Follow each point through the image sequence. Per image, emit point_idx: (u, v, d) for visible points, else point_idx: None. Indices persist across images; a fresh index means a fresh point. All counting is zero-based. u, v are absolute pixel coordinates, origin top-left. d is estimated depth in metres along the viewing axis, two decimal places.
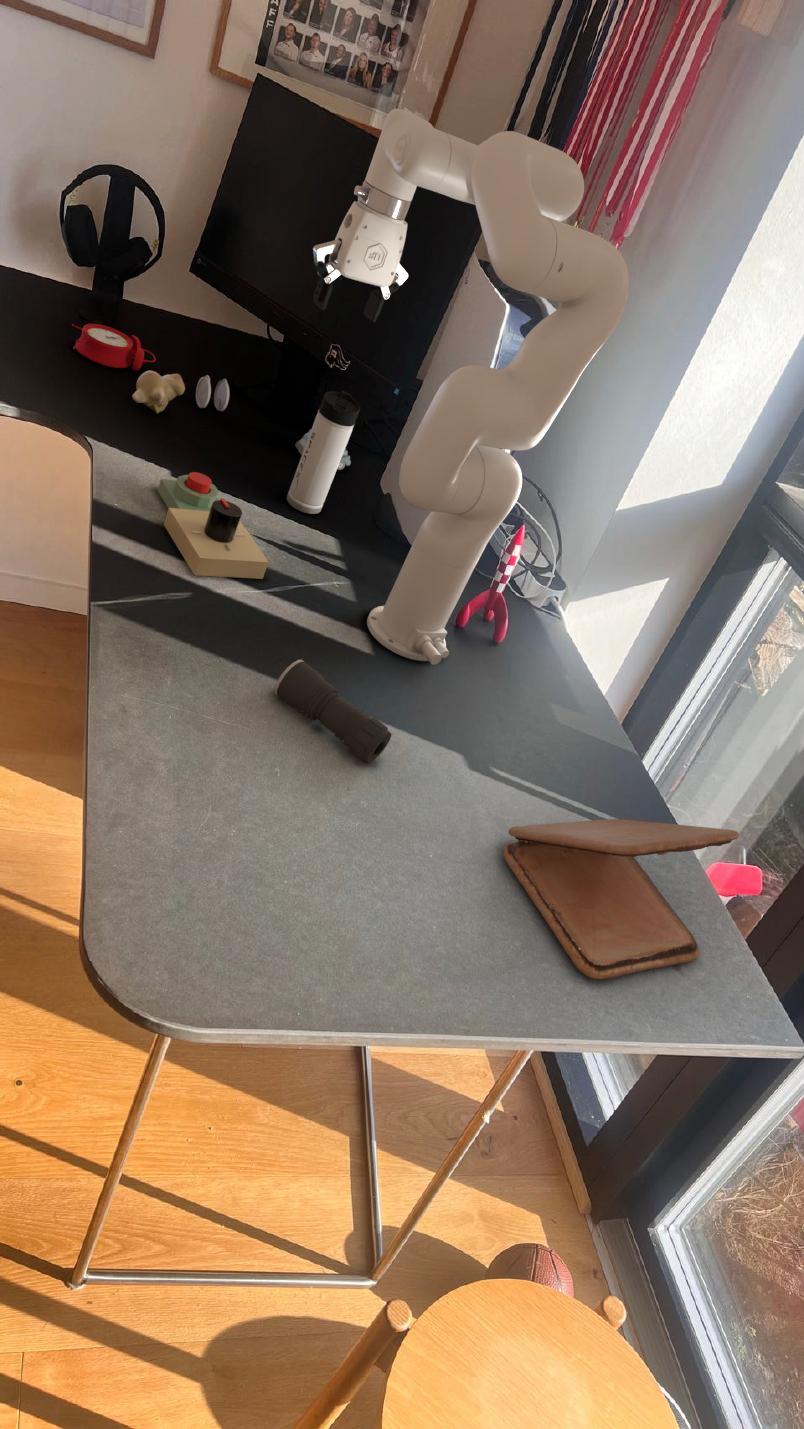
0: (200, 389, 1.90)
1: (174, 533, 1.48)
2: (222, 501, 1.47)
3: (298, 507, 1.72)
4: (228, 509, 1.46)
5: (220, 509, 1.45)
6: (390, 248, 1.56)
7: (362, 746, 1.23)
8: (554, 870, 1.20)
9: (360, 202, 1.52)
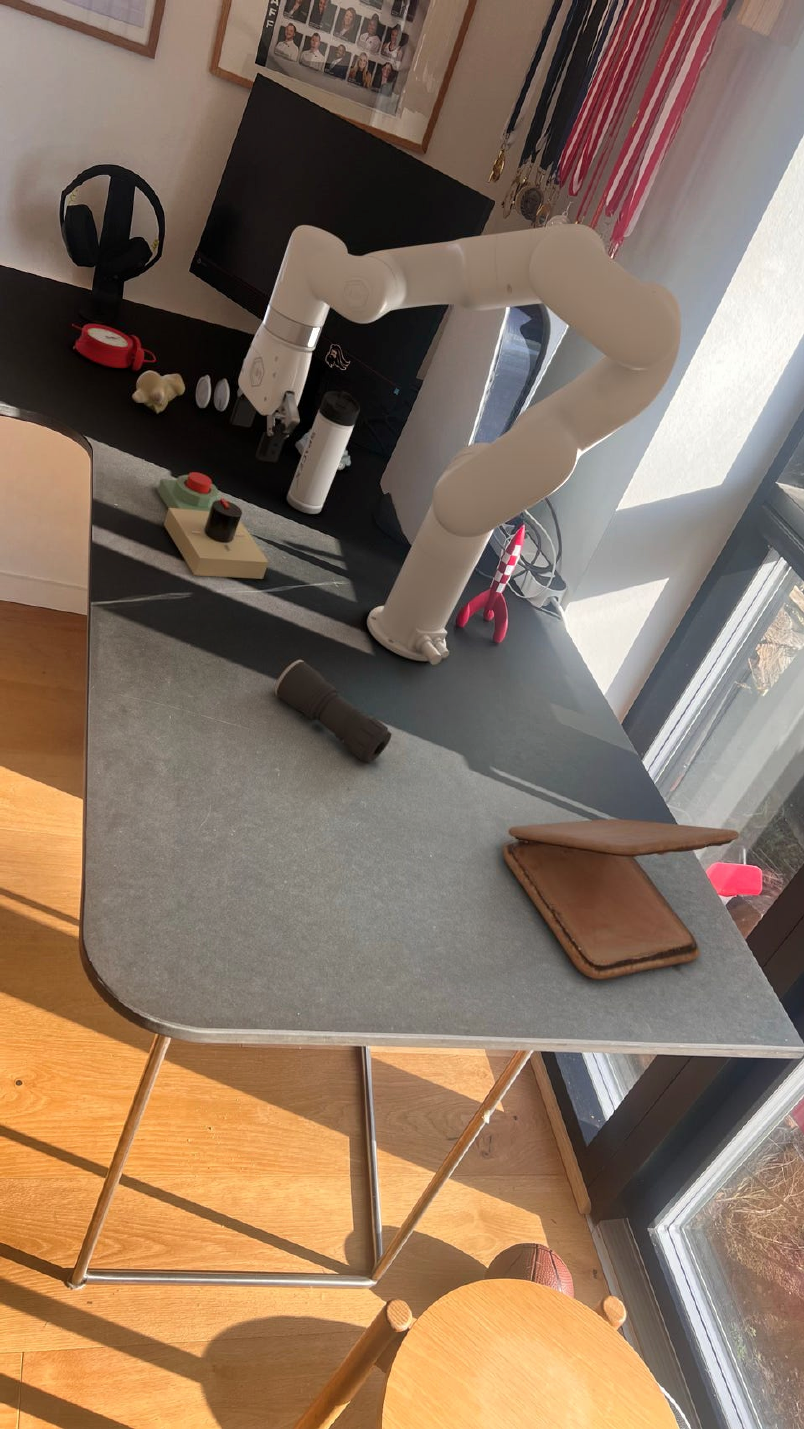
0: (200, 389, 1.90)
1: (174, 533, 1.48)
2: (222, 501, 1.47)
3: (298, 507, 1.72)
4: (228, 509, 1.46)
5: (220, 509, 1.45)
6: (267, 367, 1.34)
7: (362, 746, 1.23)
8: (554, 870, 1.20)
9: None
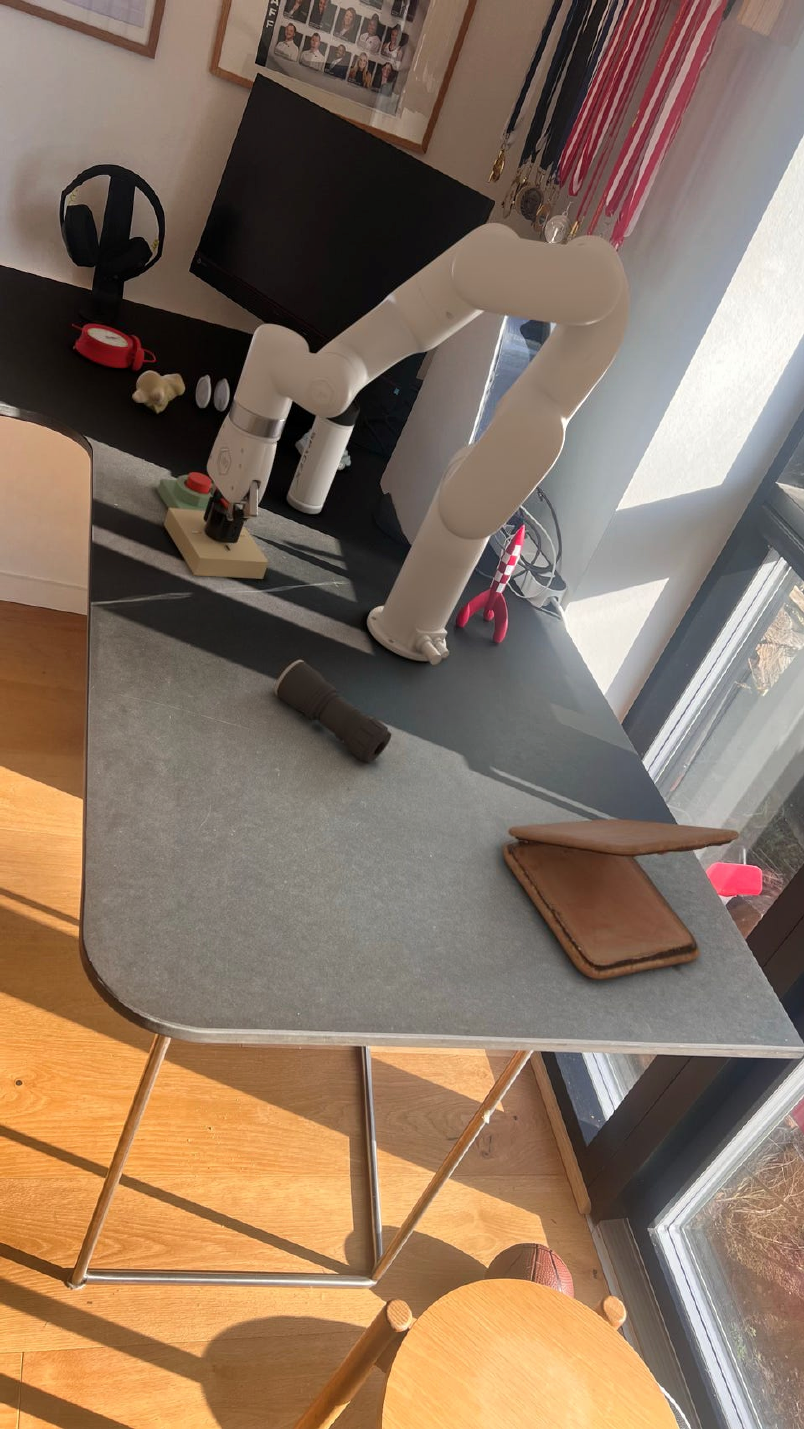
0: (200, 389, 1.90)
1: (174, 533, 1.48)
2: (222, 501, 1.47)
3: (298, 507, 1.72)
4: None
5: (220, 509, 1.45)
6: (233, 458, 1.39)
7: (362, 746, 1.23)
8: (554, 870, 1.20)
9: None
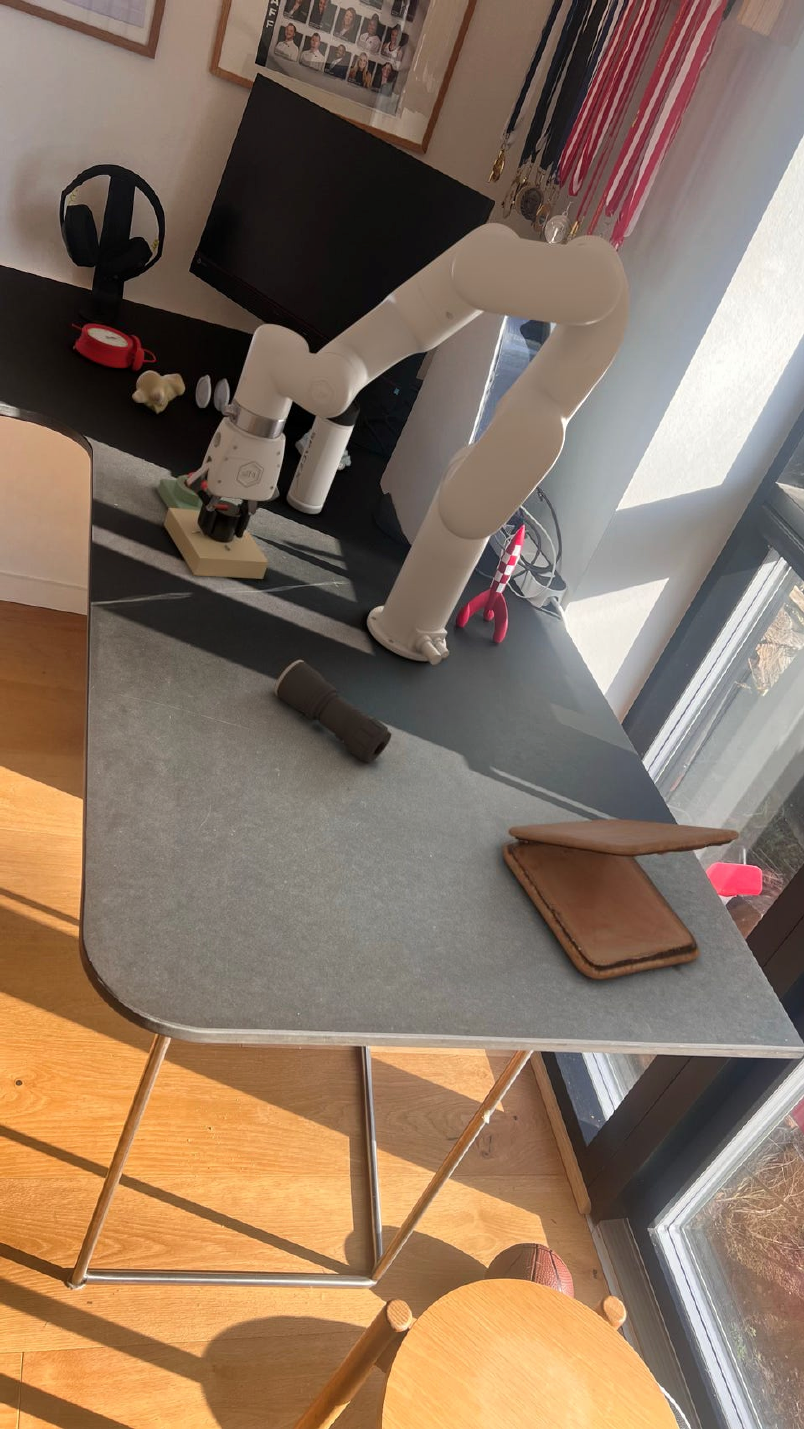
0: (200, 389, 1.90)
1: (174, 533, 1.48)
2: (219, 507, 1.45)
3: (298, 507, 1.72)
4: (228, 507, 1.47)
5: (234, 513, 1.46)
6: (266, 464, 1.41)
7: (362, 747, 1.23)
8: (554, 870, 1.20)
9: (230, 420, 1.37)
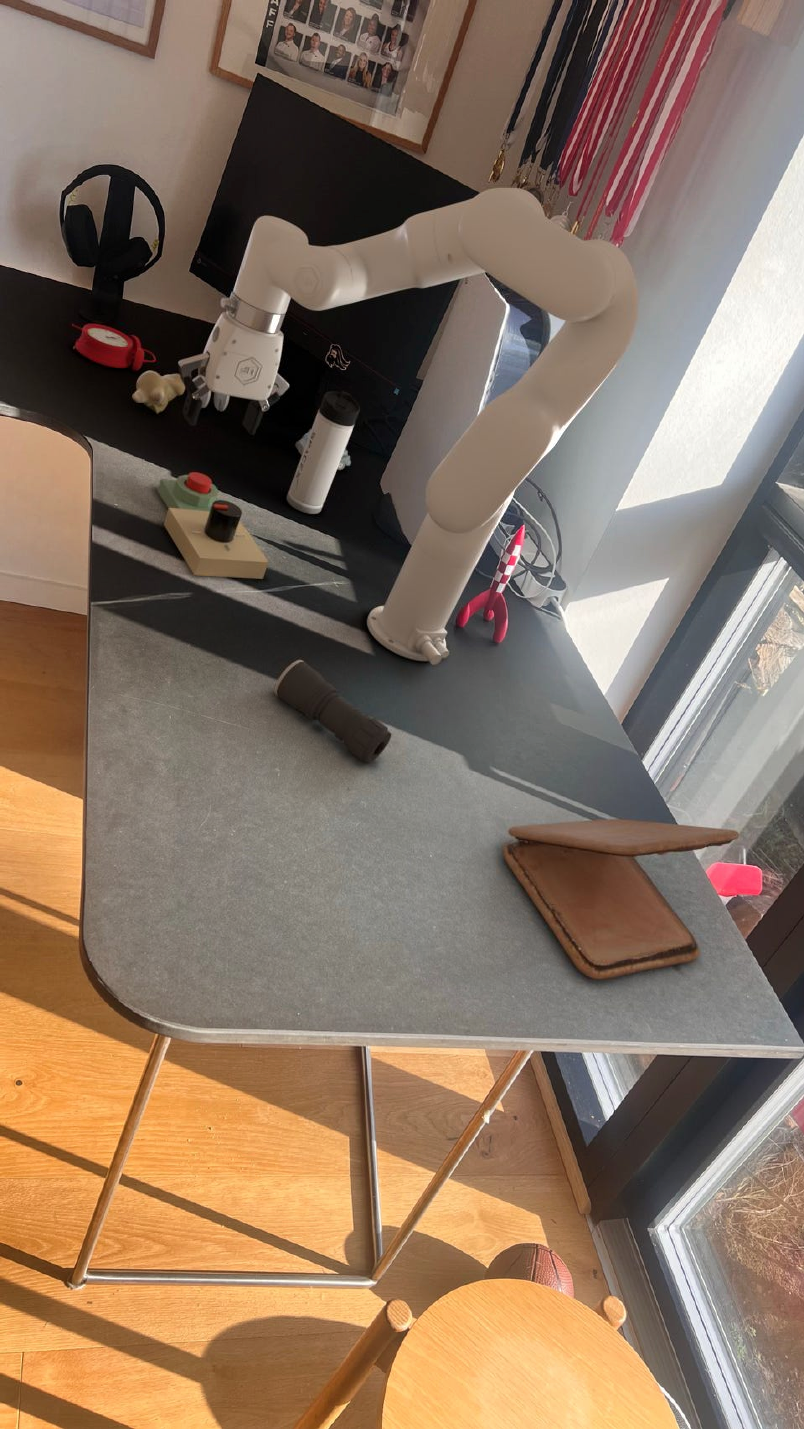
0: None
1: (174, 533, 1.48)
2: (219, 507, 1.45)
3: (298, 507, 1.72)
4: (228, 507, 1.47)
5: (234, 513, 1.46)
6: (264, 361, 1.42)
7: (362, 747, 1.23)
8: (554, 870, 1.20)
9: (228, 314, 1.38)
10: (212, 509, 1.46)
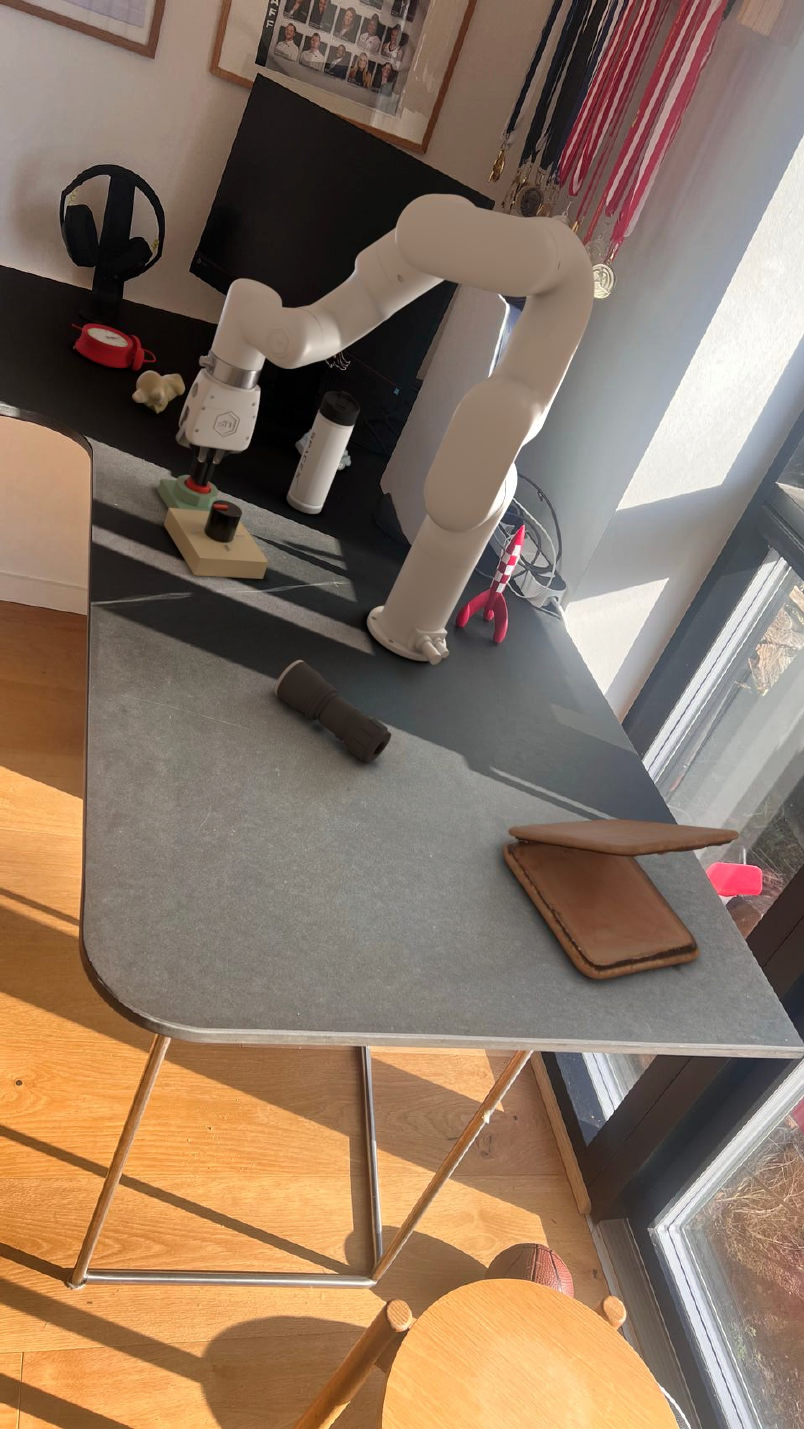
0: None
1: (174, 533, 1.48)
2: (219, 507, 1.45)
3: (298, 507, 1.72)
4: (228, 507, 1.47)
5: (234, 513, 1.46)
6: (242, 415, 1.48)
7: (362, 747, 1.23)
8: (554, 870, 1.20)
9: (207, 371, 1.44)
10: (212, 509, 1.46)
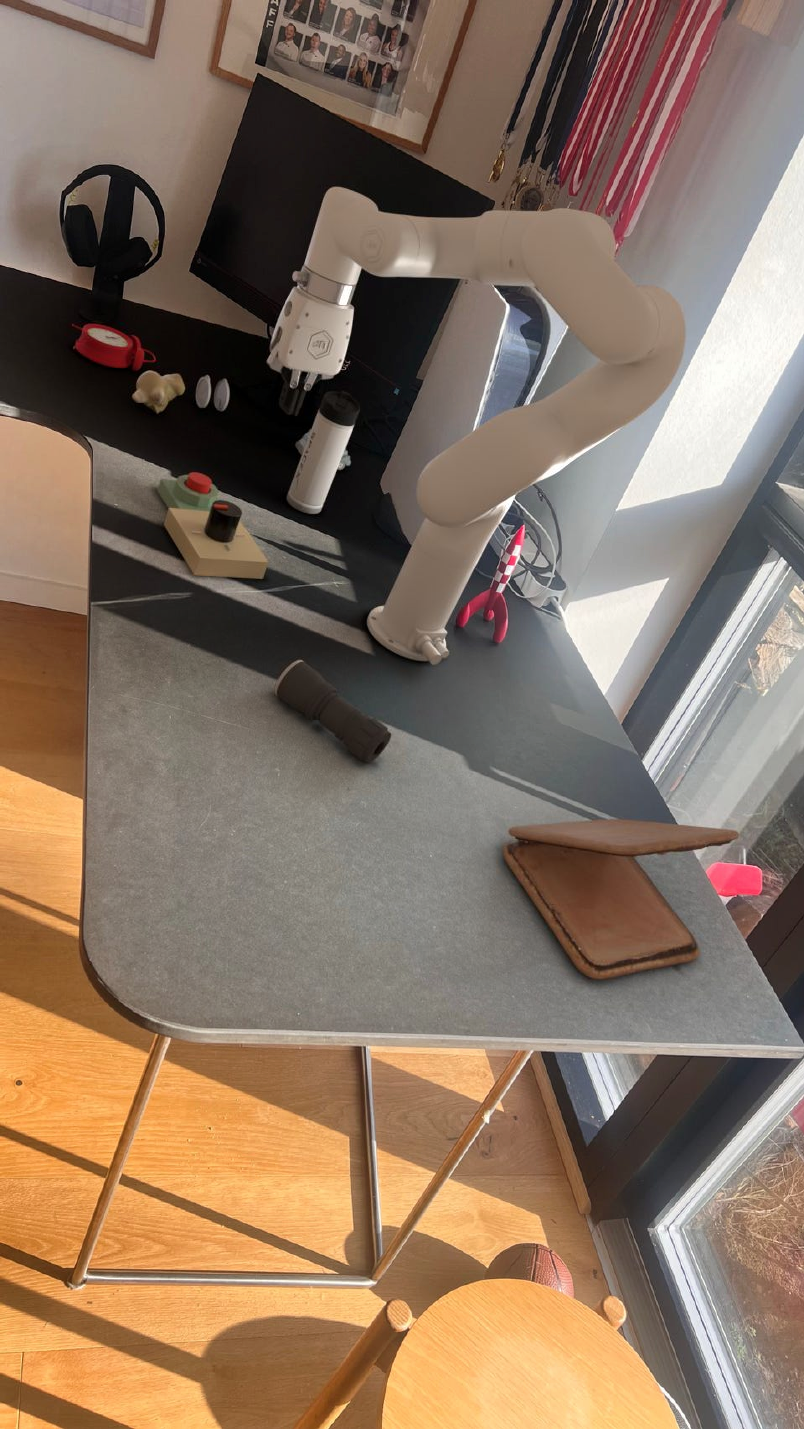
0: (200, 389, 1.90)
1: (174, 533, 1.48)
2: (219, 507, 1.45)
3: (298, 507, 1.72)
4: (228, 507, 1.47)
5: (234, 513, 1.46)
6: (336, 335, 1.42)
7: (362, 747, 1.23)
8: (554, 870, 1.20)
9: (300, 288, 1.38)
10: (212, 509, 1.46)
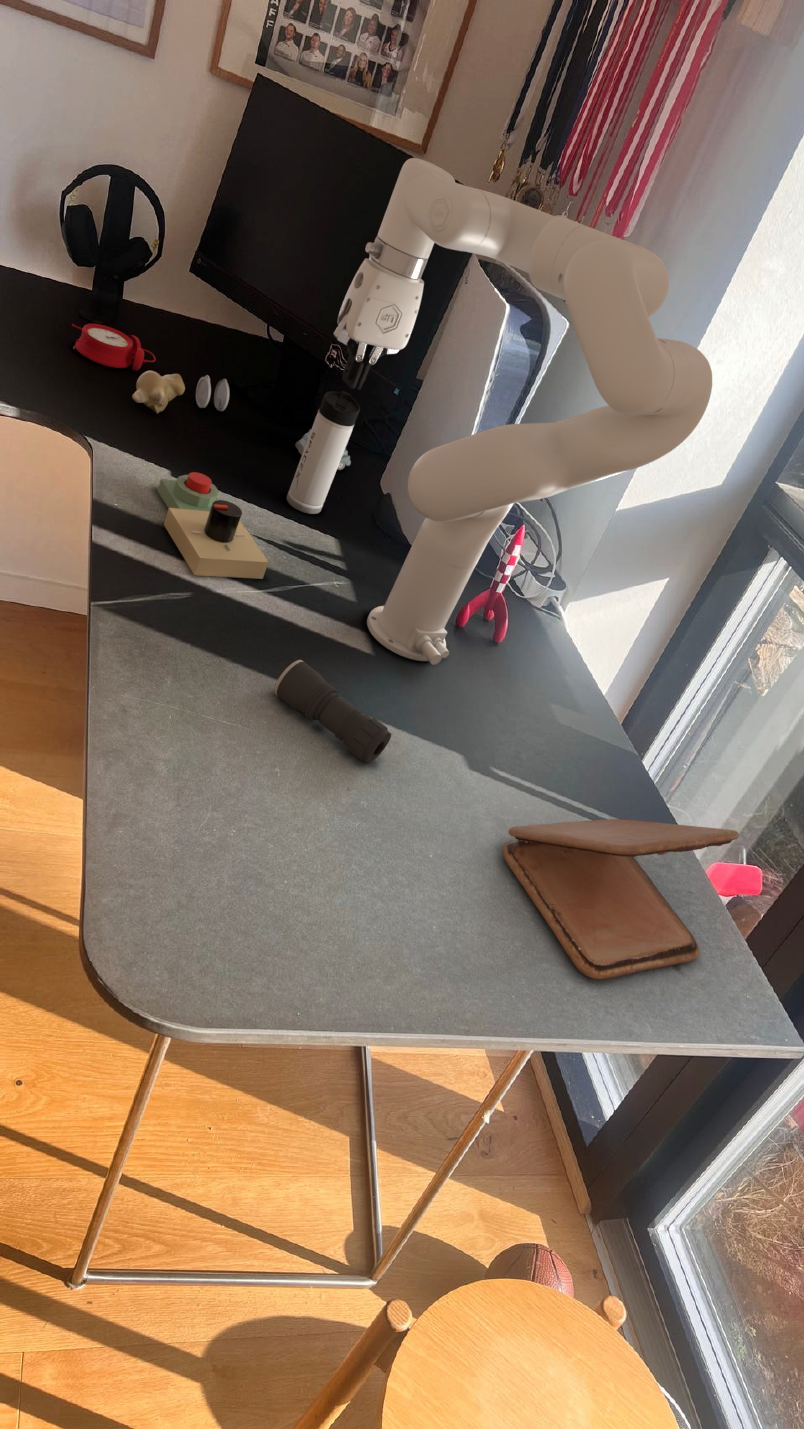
0: (200, 389, 1.90)
1: (174, 533, 1.48)
2: (219, 507, 1.45)
3: (298, 507, 1.72)
4: (228, 507, 1.47)
5: (234, 513, 1.46)
6: (405, 309, 1.41)
7: (362, 747, 1.23)
8: (554, 870, 1.20)
9: (372, 260, 1.37)
10: (212, 509, 1.46)
